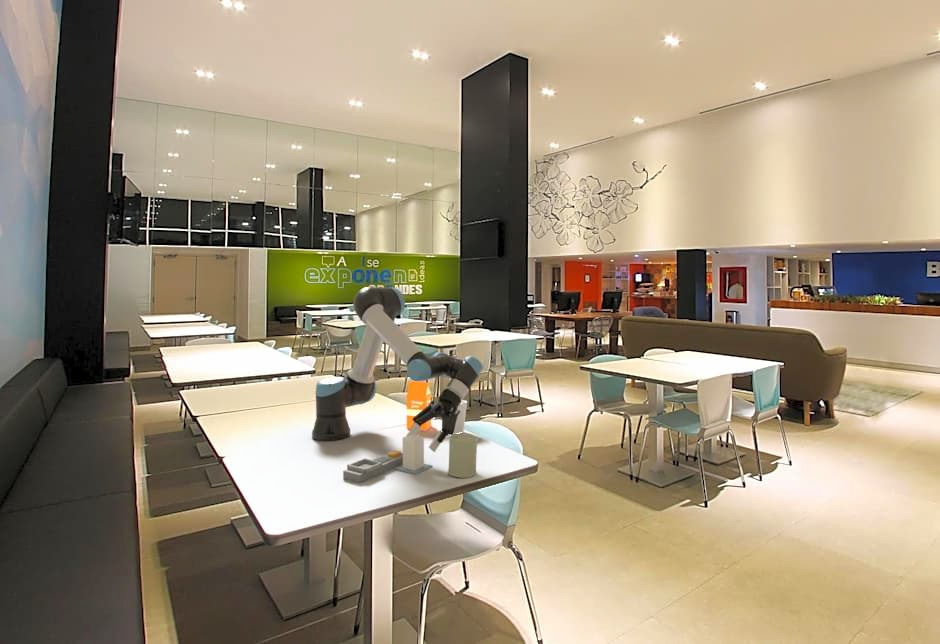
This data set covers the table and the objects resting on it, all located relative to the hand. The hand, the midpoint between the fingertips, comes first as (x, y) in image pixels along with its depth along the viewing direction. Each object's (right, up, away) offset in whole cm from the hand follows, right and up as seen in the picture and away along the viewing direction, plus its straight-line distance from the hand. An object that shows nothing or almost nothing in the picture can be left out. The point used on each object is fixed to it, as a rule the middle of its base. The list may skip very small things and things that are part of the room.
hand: (419, 445), depth 170 cm
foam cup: (+11, -5, +44) cm, 45 cm away
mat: (-2, -7, -1) cm, 8 cm away
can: (+15, -8, -6) cm, 17 cm away
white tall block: (-2, -7, -1) cm, 7 cm away
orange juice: (-5, -5, +51) cm, 52 cm away
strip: (-13, -8, -2) cm, 16 cm away
